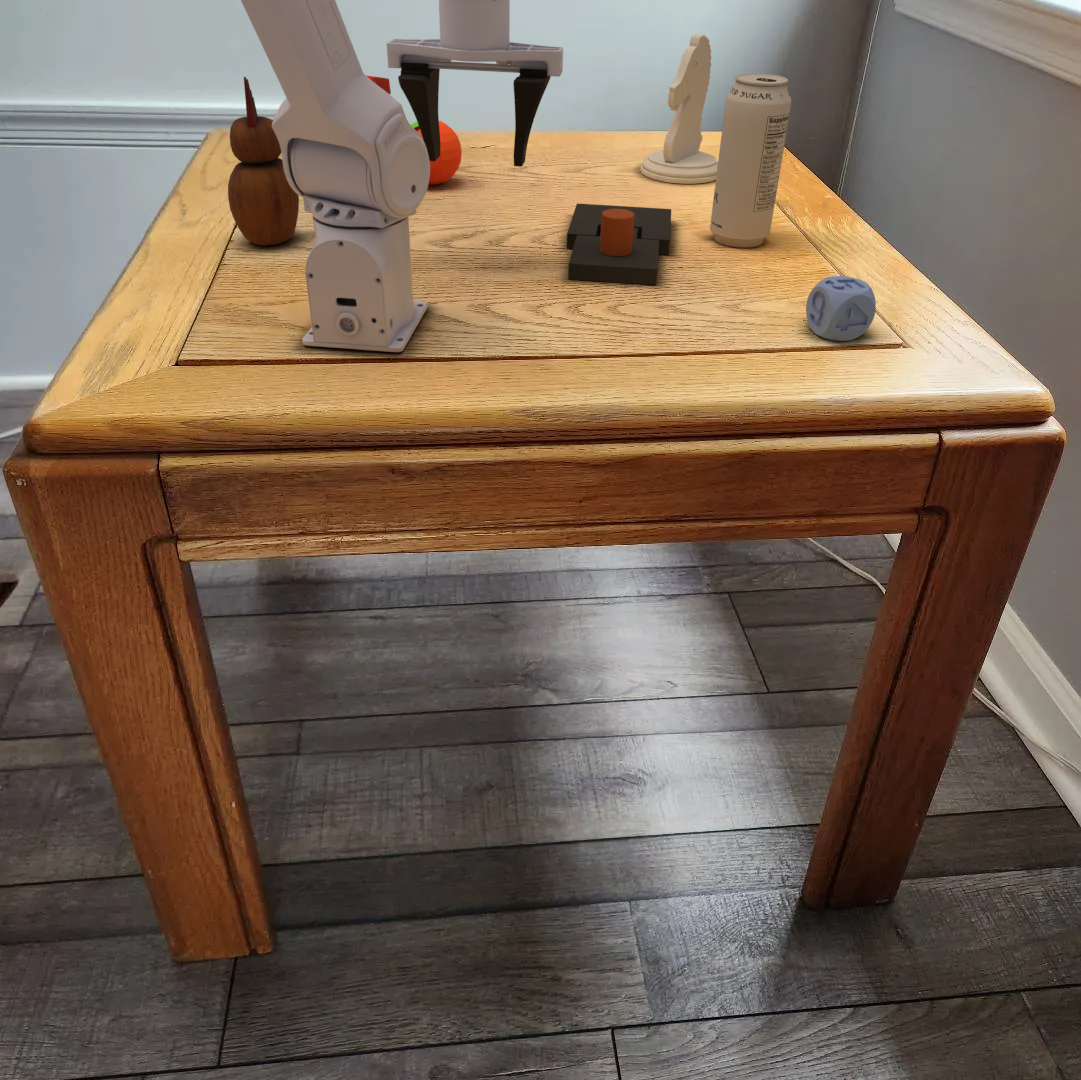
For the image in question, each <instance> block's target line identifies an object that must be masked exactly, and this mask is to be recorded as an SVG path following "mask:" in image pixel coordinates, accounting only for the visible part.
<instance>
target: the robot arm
mask: <svg viewBox="0 0 1081 1080" xmlns="http://www.w3.org/2000/svg"><path fill="white" fill-rule="evenodd" d="M240 1H241V4H242V6H243V8H244V10H245V13H246V14H247V17H248V19H249V21H250V24H251V25H252V27H253V30H254V31H255V33H256V36H257V38H258V41H259V42H260V44H261V46H262V49H263V50H264V53H265V55H266V57H267V59H268V61H269V64H270V66H271V67H272V70H273V72H274V75H275V76H276V78H277V80H278V82H279V84H280V87H281V89H282V91H283V93H284V95H285V98H284V100H283V101H282V102H281V103H280V105H279V107H278V108H277V111H276V113H275V116H274V117H273V119H272V120H273V123H272V128H273V130H274V132H275V134H276V136H277V139H278V141H279V144H280V148H281V159H282V161H283V168H284V173H285V176H286V179H287V181H288V183H289V185H290V186H291V188H292V189H293V191H294V192H296V193H297V194H298V195H299V197H301V198H302V201H303V208H304V212H306V213H309V214H311V215H312V222H313V223H312V224H313V230H314V238H315V239H314V244H313V247H312V249H311V250H310V252H309V253H308V256H307V259H306V262H305V269H304V270H305V280H306V289H307V297H308V305H309V306H308V307H309V311H310V312H309V313H310V321H311V327H310V328H309V329H308V330H307V332H306V333H305V335H304V336H302V338H301V342H302V343H301V344H302V345H303V346H308V347H322V348H335V349H347V350H360V351H361V350H362V351H374V352H387V353H389V352H390V353H401V352H403V351H404V350H405V348H406V346H407V344H408V343H409V340H410V339H411V337H412V336H413V334H414V332H415V331H416V329H417V326H418V325H419V323H420V322H421V320H422V318H423V316H424V314H425V313H426V311H427V310H428V302H427V301H424V300H414V289H413V288H414V287H413V271H412V254H411V253H412V252H411V237H410V235H411V234H410V221H409V219H410V218H409V217H411V216H414V215H416V214H417V209H418V208H419V206H420V205H421V203H422V202H423V200H424V198H425V196H426V193H427V192H428V191H427V190H428V188H429V178H430V161H436V160H437V159H438V158H439V157H440V147H441V143H440V130H439V121H440V120H439V119H440V118H439V90H440V71H441V70H454V71H456V70H457V71H475V72H476V71H477V72H492V73H493V72H494V73H514V74H515V73H516V74H519V75H518V76H516V77H515V78H514V80H513V96H514V97H513V99H514V116H515V117H514V121H515V125H514V126H515V129H514V142H513V143H514V145H513V167H523V165H524V164H525V162H526V158H527V157H526V156H527V150H528V144H529V139H530V135H531V131H532V128H533V123H534V120H535V117H536V115H537V112H538V109H539V107H540V104H541V102H542V99H543V96H544V95H545V92H546V89H547V87H548V85H549V82H550V80H551V77H558V78H559V77H560V76H561V75H562V74H563V66H564V47H563V46H548V45H540V44H529V43H523V42H522V43H521V42H513V41H510V25H511V23H510V22H511V21H510V17H511V16H510V15H511V14H510V11H511V10H510V6H511V3H510V1H511V0H438V15H439V18H438V19H439V21H438V22H439V39H437V38H436V39H435V38H431V39H430V38H427V39H425V38H423V39H421V38H420V39H416V38H415V39H413V38H411V39H407V38H406V39H405V38H392V39H390V40H388V41H387V42H386V56H387V68H389V69H400V75H398V77H397V80H398V84H399V87H400V89H401V90H402V93H403V94H404V97H406V99H407V102H408V104H409V105H410V107H411V110H412V112H413V114H414V116H415V117H414V118H415V119H416V122H418V125H419V128H420V131H421V134H422V137H423V139H422V137H421V136H420V134H419V133H418V132H417V131H416V130H415V129H414V128H412V126H411V124H410V122H409V120H408V119H407V116H406V114H405V111H404V108H403V105H402V104H401V103H400V102H399V101H398V100H397V99H396V98H395V97H393V96H392V95H391V94H390V95H389V94H388V93H387V92H386V91H384V90H383V89H382V88H380V87H379V86H378V85H377V84H375V83H374V82H373V81H372V80H370V79H369V78H368V77H367V76H368V75H367V74H365V73H364V71H363V69H362V66H361V63H360V61H359V58H358V55H357V54H356V51H355V48H354V45H353V42H352V39H351V37H350V35H349V33H348V30H347V27H346V25H345V22H344V20H343V17H342V14H341V12H340V9H339V7H338V4H337V1H336V0H240ZM489 62H490V63H489ZM494 62H495V63H494Z"/></svg>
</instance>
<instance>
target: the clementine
mask: <svg viewBox="0 0 1081 1080" xmlns="http://www.w3.org/2000/svg"><path fill="white" fill-rule="evenodd" d="M410 125H411V126H412V128H414V129H415V130H416V131H417V132H418V133H419V134H420V136H421V137H422V134H421V131H420V128H419V125H418V122H417V121H415V122H413V123H411V124H410ZM439 130H440V143H441V147H440V157H439V158H438V159H437V160H436V161H430V178H429V184H428V186H431V185H432V186H434V185H435V186H436V185H439V184H443V183H446V182H447V181H449V180H450V179H452V177H454V175H455V174H456V173H457V171H458V170H459V168H460V165H461V163H462V152H463V151H462V145H461V141H460V139H459V137H458V135H457V133H456V132H455V130H454V129H453V128H452V127H451V126H449V125H448V124H447V123H446V122H444V121H442V120H439ZM422 139H423V137H422Z"/></svg>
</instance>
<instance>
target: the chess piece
mask: <svg viewBox="0 0 1081 1080" xmlns="http://www.w3.org/2000/svg"><path fill="white" fill-rule="evenodd" d="M711 67H712V49H711V44H710V38H708V36H706V35H705V34H700V33H694V34H692V35H691V36H690V41H689V45H687V46H686V47H685V49H684V50H683V53H682V55H681V58H680V62H679V66H678V69H677V73H676V76H675V78H674V79H673V82H672V83H671V84H670V86H669V91H668V92H669V93H668V98H667V99H668V100H667V105H668V108H669V110H670V111H674V112H675V113H674V115H673V118H672V120H671V122H670V125H669V127H668V131H667V132H666V134H665V138H664V141H663V149H659V150H653V151H651V152H649V153H648V154H647V156H646V157H645V158H643V160H642V162H641V165H640V172H641V174H642V175H644V176H645V177H647V178H649V179H652V180H655V181H659V182H665V183H670V184H671V183H672V184H683V185H684V184H685V185H691V184H705V183H711V182H713V181H716V175H717V167H718V161H717V160H718V159H717V157H716V156H715V155H712V154H710V153H708V152H704V151H700V148H701V144H702V141H703V135H702V128H701V126H702V116H703V111H704V106H705V103H706V99H707V93H708V90H709V85H710V78H711Z"/></svg>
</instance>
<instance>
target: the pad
mask: <svg viewBox="0 0 1081 1080" xmlns="http://www.w3.org/2000/svg"><path fill="white" fill-rule="evenodd" d="M634 216H635V215H634V213H633V212H631V211H629V210H625V209H608V210H605V211H603V212H602V217H601V232H600V236H585V235H577V237H576V240H575V244H574V247H573V249H572V251H571V253H570V258H569V262H568V270H567V271H568V273H567V275H568V276H567V279H568V280H573V281H574V280H575V281H590V282H603V283H605V282H606V283H618V284H633V285H635V284H636V285H649V286H650V285H651V286H656V285H657V280H658V279H657V277H658V269H659V268H658V265H659V255H660V254H659V240H649V239H637V234H638V228H634Z"/></svg>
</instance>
